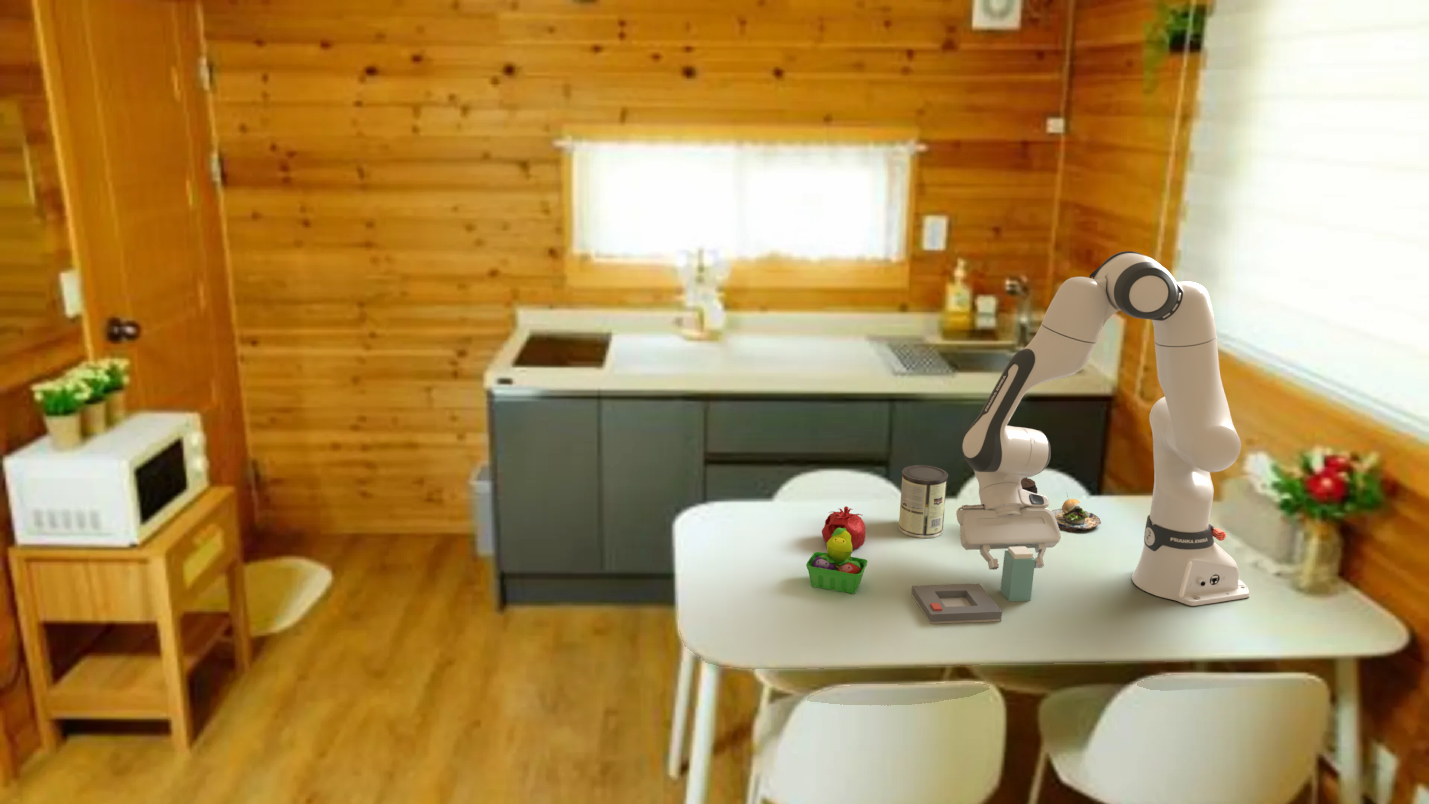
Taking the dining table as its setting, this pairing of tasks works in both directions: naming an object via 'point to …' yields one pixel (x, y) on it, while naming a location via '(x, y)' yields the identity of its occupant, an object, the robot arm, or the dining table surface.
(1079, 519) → the burger
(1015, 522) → the robot arm
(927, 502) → the coffee can
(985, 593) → the socket plate
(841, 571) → the fruit basket
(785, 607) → the dining table surface
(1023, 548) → the plug
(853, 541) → the pomegranate
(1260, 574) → the dining table surface
